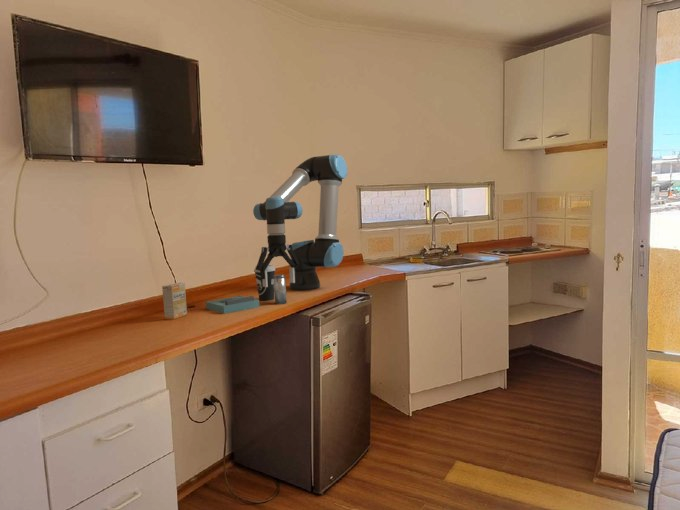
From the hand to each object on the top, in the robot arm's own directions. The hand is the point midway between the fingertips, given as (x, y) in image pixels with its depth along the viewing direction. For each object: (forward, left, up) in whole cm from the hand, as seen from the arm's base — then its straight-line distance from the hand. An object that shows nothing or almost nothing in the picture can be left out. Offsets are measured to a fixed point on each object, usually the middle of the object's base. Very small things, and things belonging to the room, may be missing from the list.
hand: (279, 284), depth 220 cm
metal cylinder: (0, 0, -8) cm, 8 cm away
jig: (+18, -9, -8) cm, 21 cm away
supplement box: (+41, -12, -8) cm, 43 cm away
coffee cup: (-1, -13, -8) cm, 16 cm away
